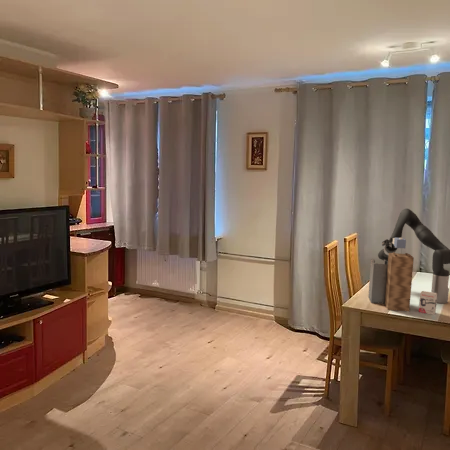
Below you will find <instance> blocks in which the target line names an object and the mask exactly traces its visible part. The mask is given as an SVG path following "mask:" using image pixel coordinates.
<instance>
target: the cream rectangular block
mask: <svg viewBox="0 0 450 450" xmlns="http://www.w3.org/2000/svg"><path fill="white" fill-rule="evenodd" d="M392 243H393V244H394V246H395V247H396V248H397V249H406V243H407V239H405V238H404V237H402V238H393V241H392Z"/></svg>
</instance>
